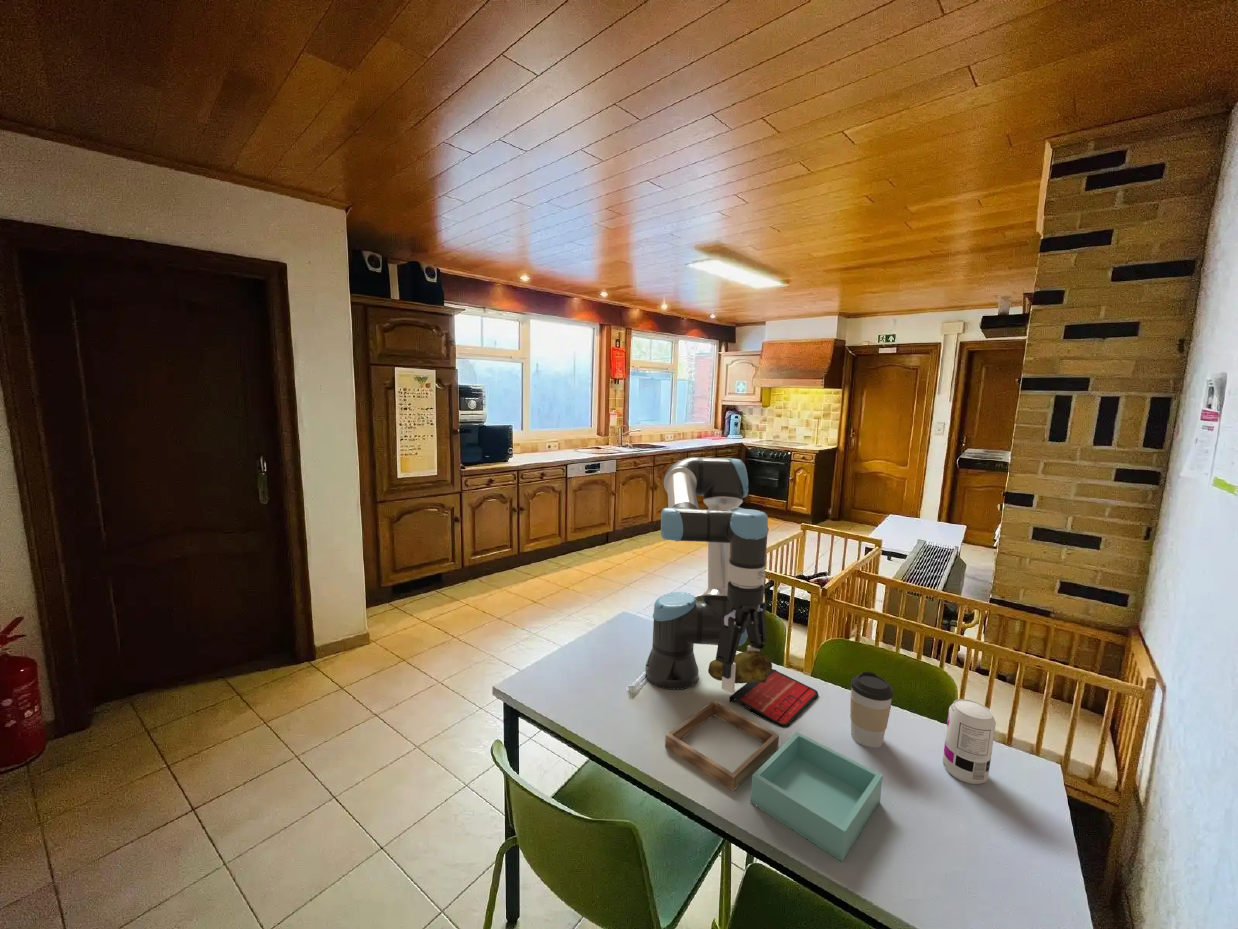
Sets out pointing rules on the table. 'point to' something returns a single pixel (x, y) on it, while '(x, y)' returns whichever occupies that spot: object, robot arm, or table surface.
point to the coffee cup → (869, 708)
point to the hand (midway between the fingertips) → (740, 682)
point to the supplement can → (969, 741)
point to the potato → (745, 667)
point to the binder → (776, 698)
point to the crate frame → (711, 766)
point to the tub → (817, 793)
